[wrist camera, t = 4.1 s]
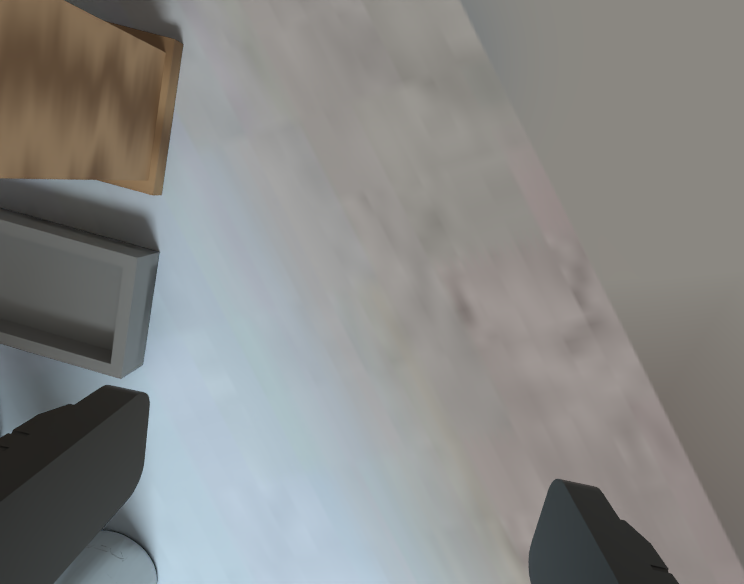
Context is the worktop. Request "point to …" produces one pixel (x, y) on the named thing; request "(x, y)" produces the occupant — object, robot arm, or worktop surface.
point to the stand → (84, 97)
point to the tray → (74, 294)
